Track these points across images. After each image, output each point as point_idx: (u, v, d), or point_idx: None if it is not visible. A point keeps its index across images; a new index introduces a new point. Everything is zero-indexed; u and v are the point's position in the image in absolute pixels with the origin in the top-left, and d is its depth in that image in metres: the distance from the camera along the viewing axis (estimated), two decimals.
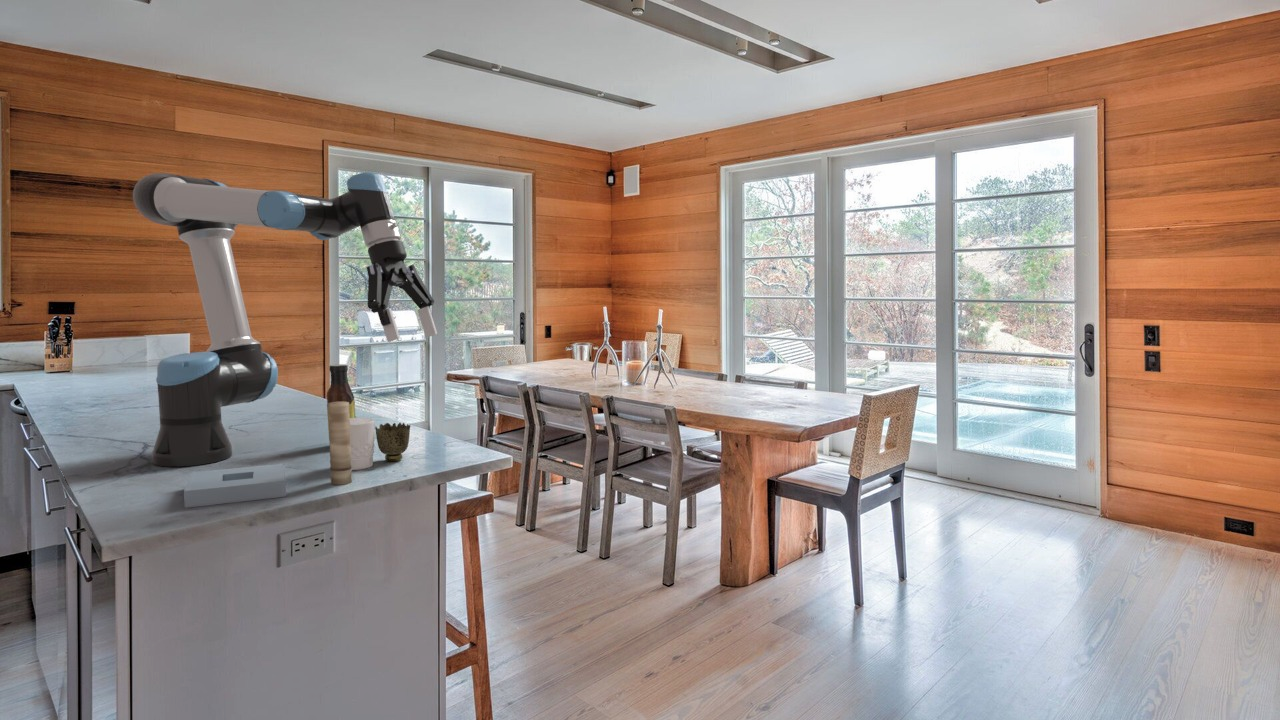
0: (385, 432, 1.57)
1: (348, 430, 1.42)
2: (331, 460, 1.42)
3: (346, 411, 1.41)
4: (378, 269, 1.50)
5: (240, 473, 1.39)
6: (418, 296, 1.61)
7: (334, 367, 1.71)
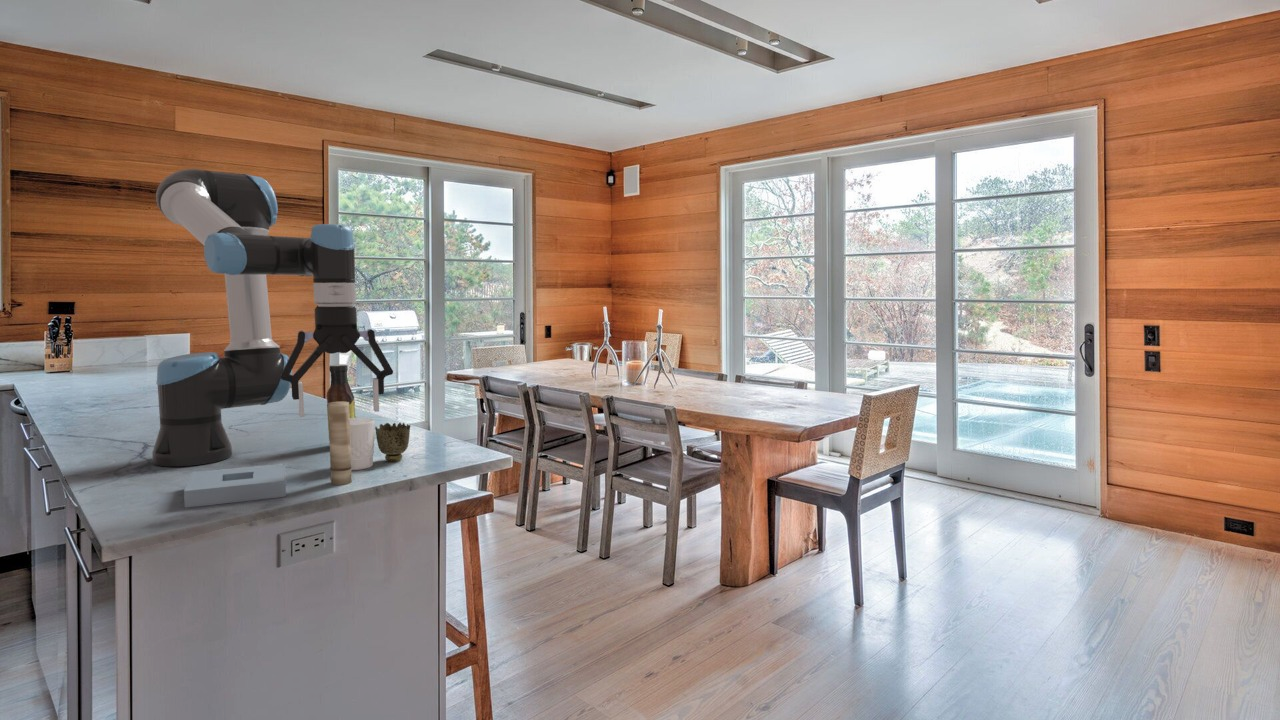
0: (385, 432, 1.57)
1: (348, 430, 1.42)
2: (331, 460, 1.42)
3: (346, 411, 1.41)
4: (300, 338, 1.37)
5: (240, 473, 1.39)
6: (367, 366, 1.43)
7: (334, 367, 1.71)
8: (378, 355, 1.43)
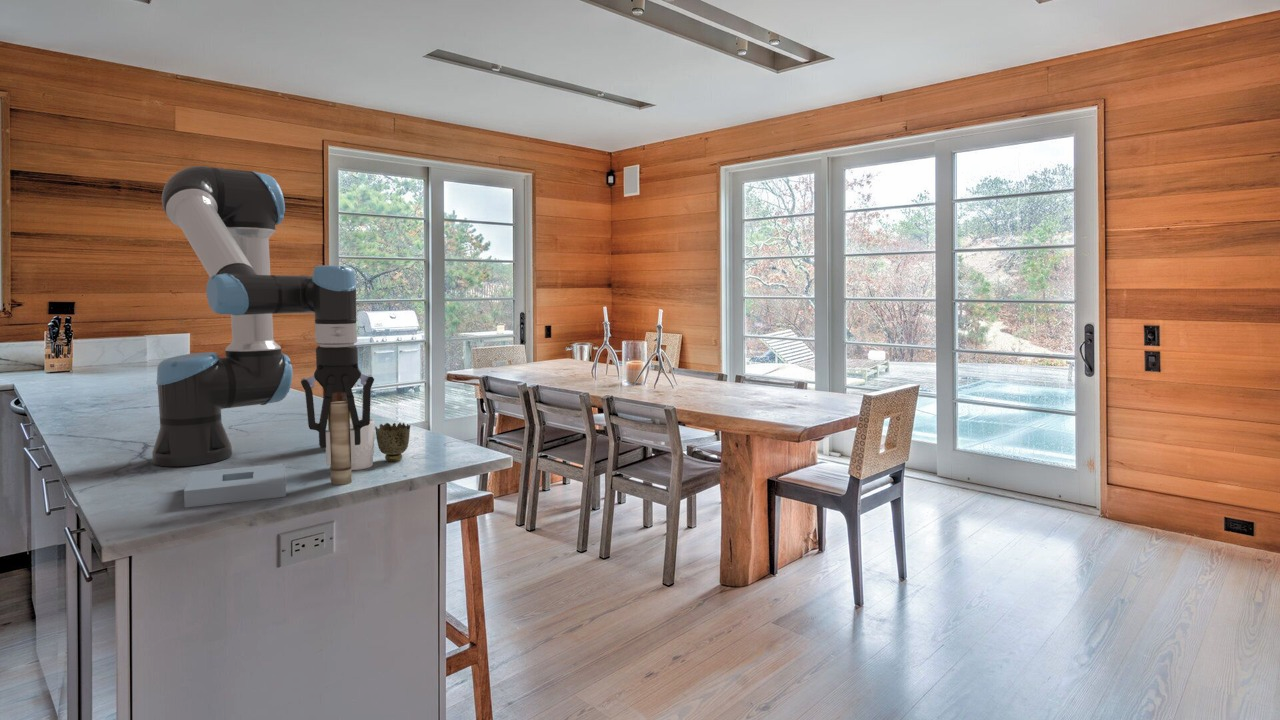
0: (385, 432, 1.57)
1: (348, 430, 1.42)
2: (331, 460, 1.42)
3: (346, 411, 1.41)
4: (306, 387, 1.38)
5: (240, 473, 1.39)
6: (350, 412, 1.42)
7: None
8: (365, 402, 1.43)
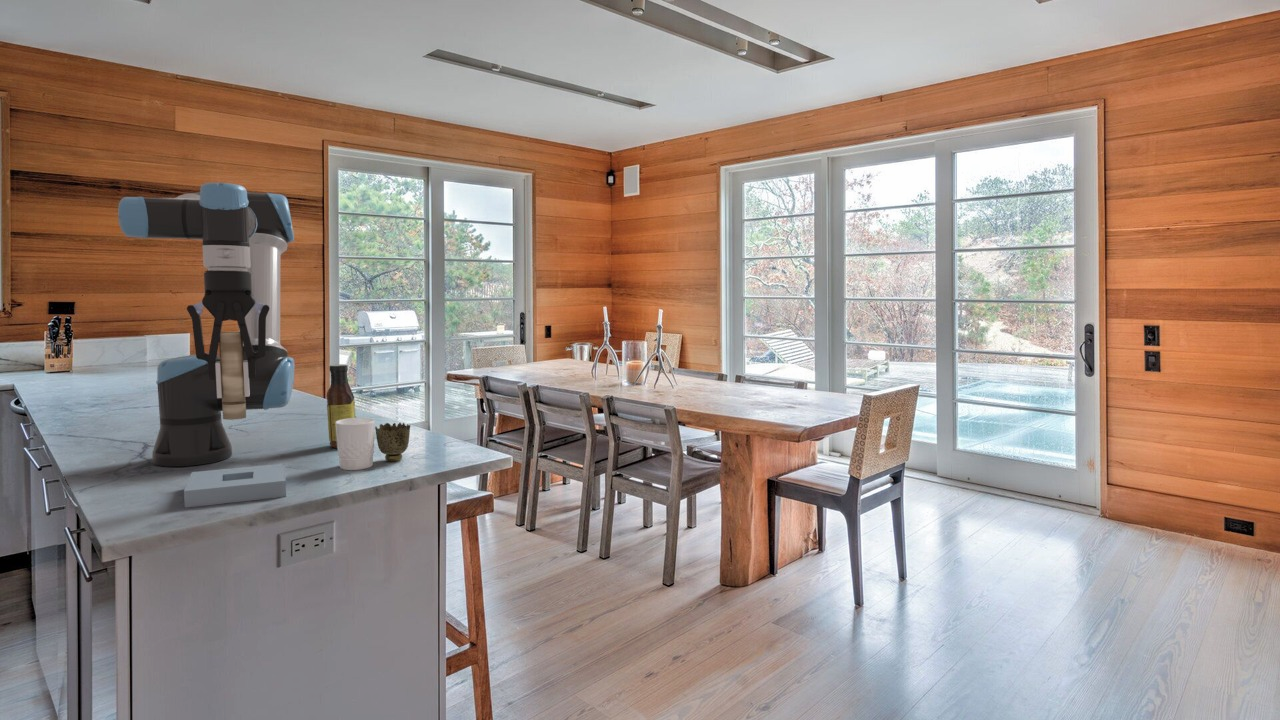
0: (385, 432, 1.57)
1: (241, 361, 1.33)
2: (222, 393, 1.33)
3: (238, 340, 1.33)
4: (192, 313, 1.29)
5: (240, 473, 1.39)
6: (243, 342, 1.34)
7: (334, 367, 1.71)
8: (259, 332, 1.34)
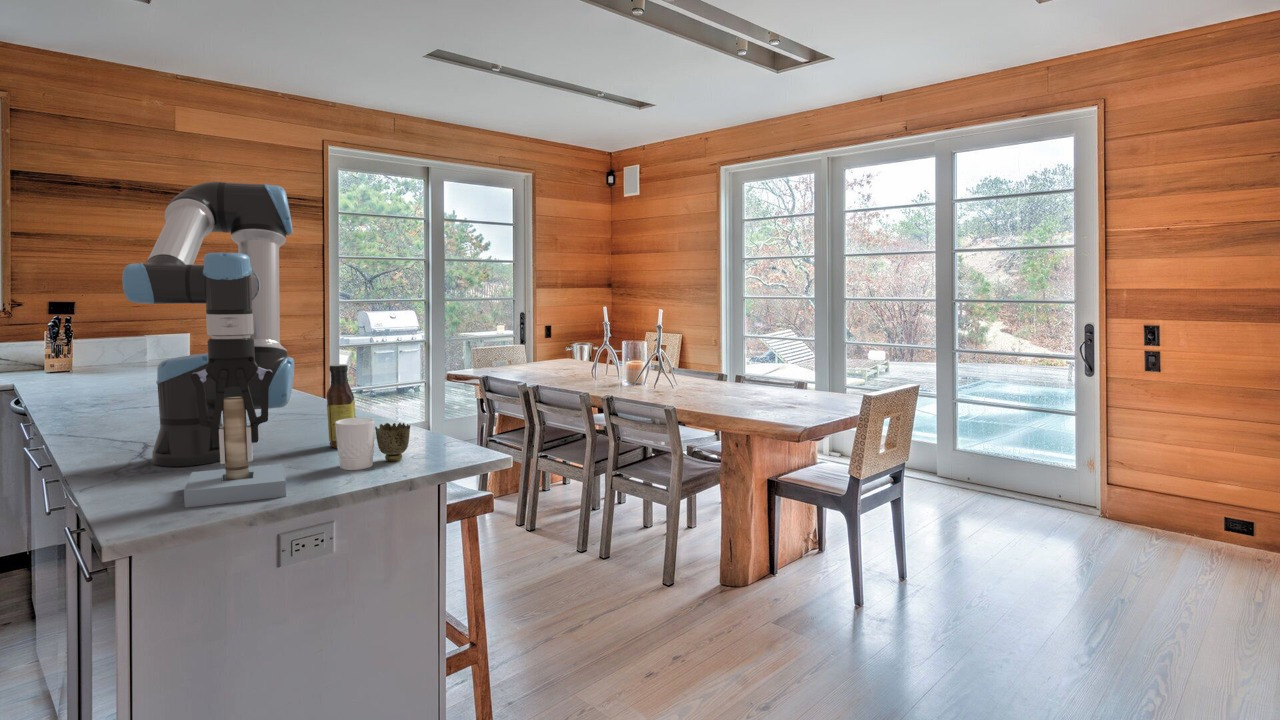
0: (385, 432, 1.57)
1: (244, 427, 1.35)
2: (225, 459, 1.34)
3: (241, 406, 1.34)
4: (196, 381, 1.30)
5: None
6: (246, 408, 1.35)
7: (334, 367, 1.71)
8: (262, 398, 1.36)
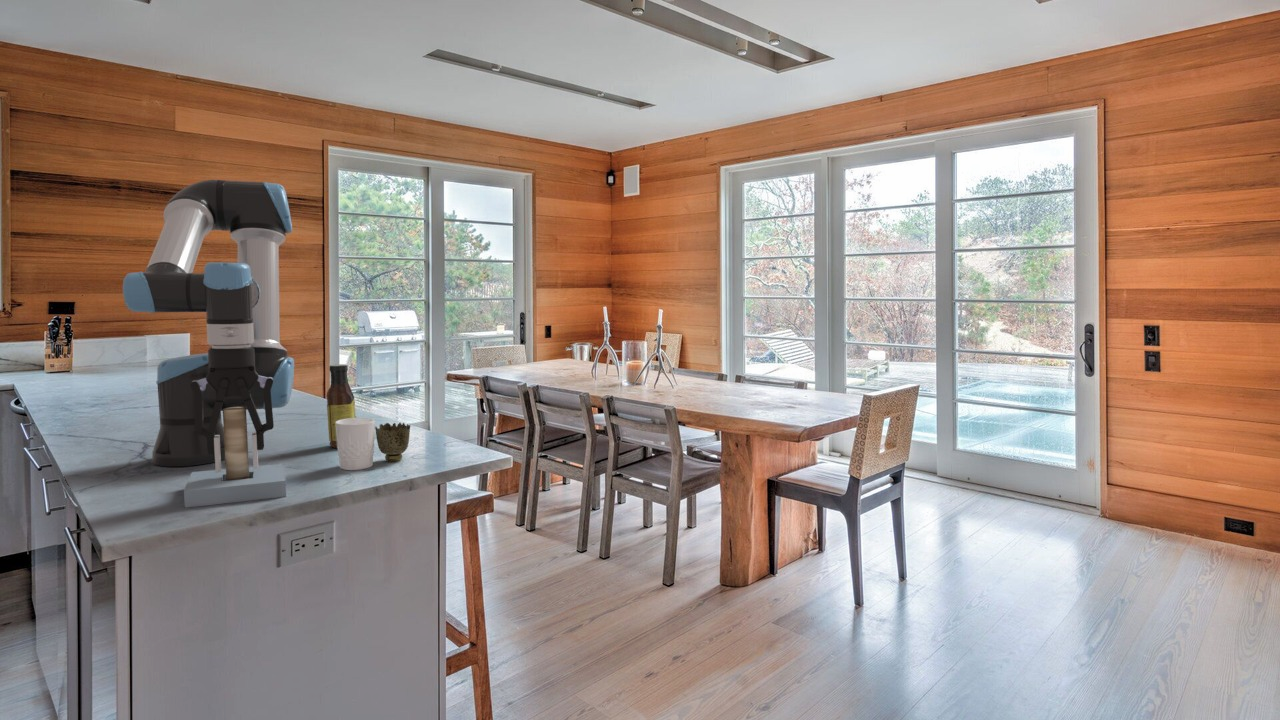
0: (385, 432, 1.57)
1: (244, 437, 1.35)
2: (226, 469, 1.34)
3: (242, 417, 1.34)
4: (195, 389, 1.31)
5: None
6: (250, 416, 1.35)
7: (334, 367, 1.71)
8: (266, 406, 1.36)
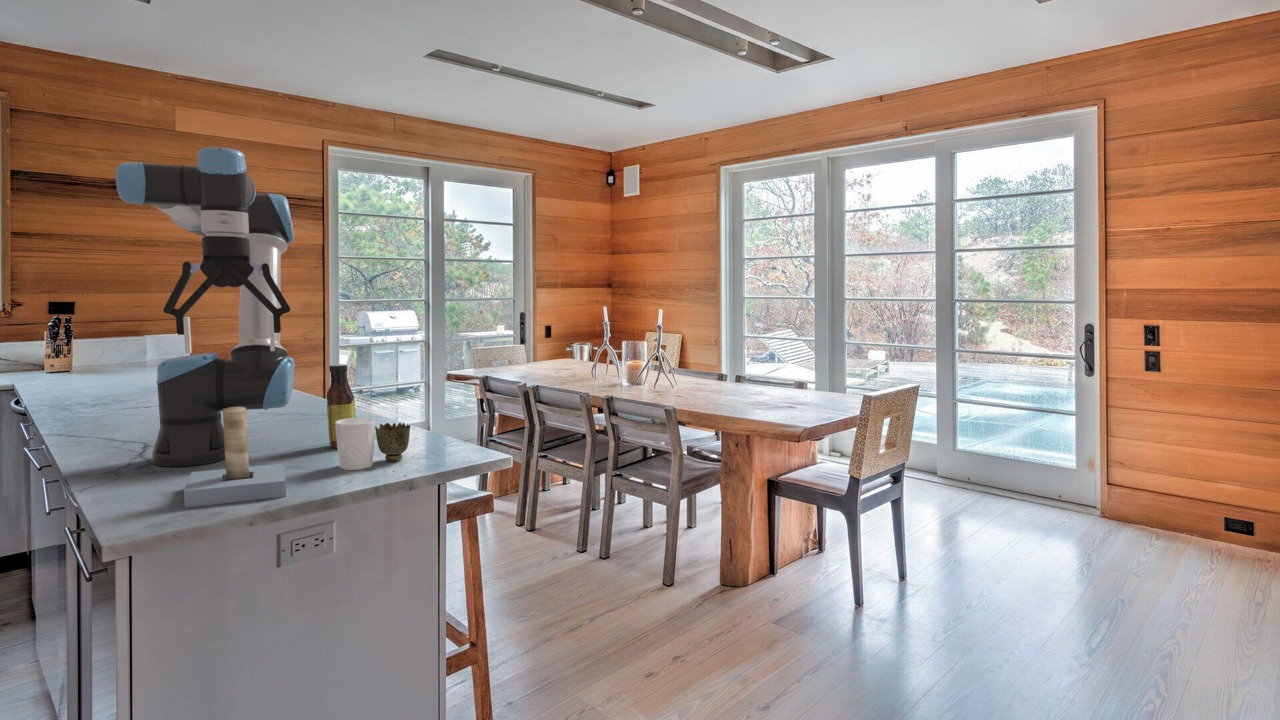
0: (385, 432, 1.57)
1: (244, 437, 1.35)
2: (226, 469, 1.34)
3: (242, 417, 1.34)
4: (185, 269, 1.28)
5: None
6: (261, 302, 1.35)
7: (334, 367, 1.71)
8: (273, 291, 1.35)
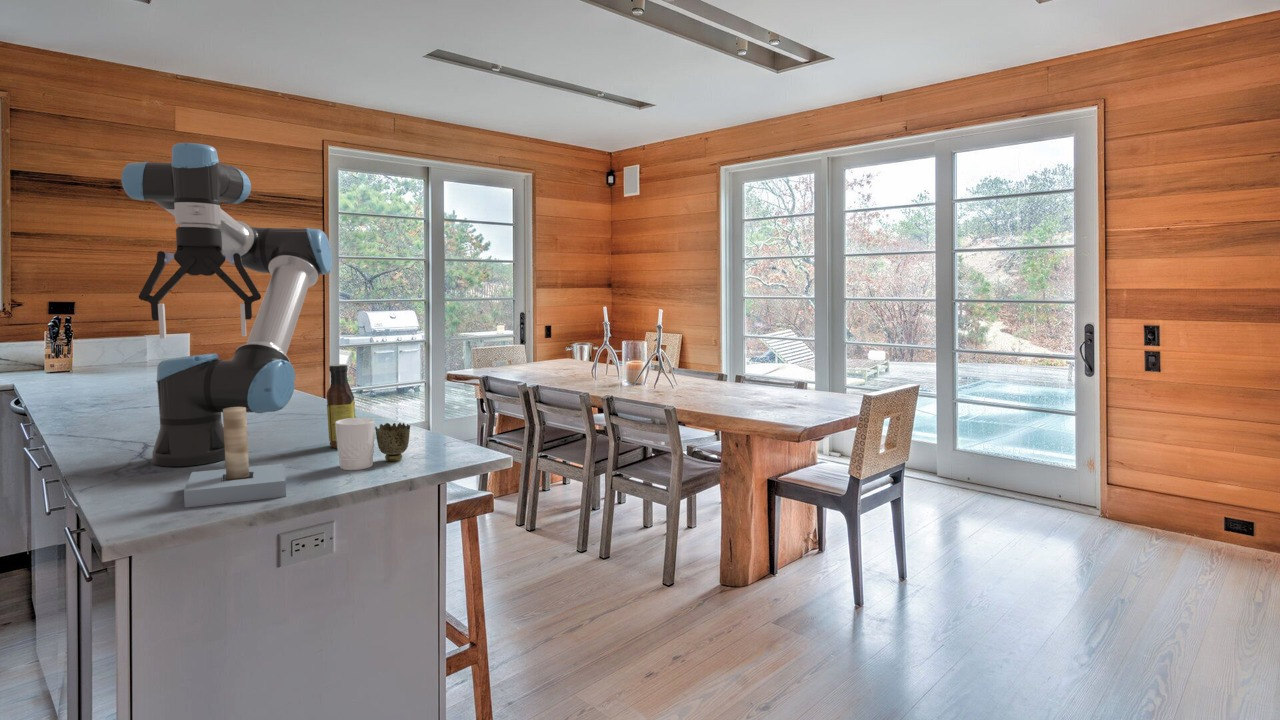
0: (385, 432, 1.57)
1: (244, 437, 1.35)
2: (226, 469, 1.34)
3: (242, 417, 1.34)
4: (159, 258, 1.35)
5: None
6: (233, 290, 1.42)
7: (334, 367, 1.71)
8: (244, 279, 1.42)
